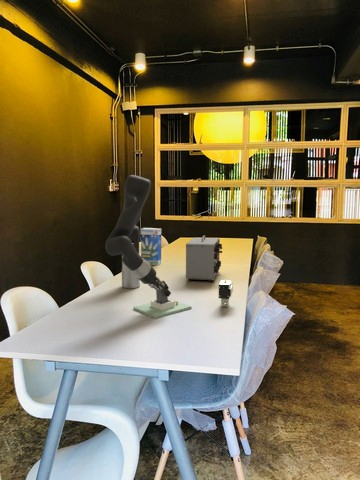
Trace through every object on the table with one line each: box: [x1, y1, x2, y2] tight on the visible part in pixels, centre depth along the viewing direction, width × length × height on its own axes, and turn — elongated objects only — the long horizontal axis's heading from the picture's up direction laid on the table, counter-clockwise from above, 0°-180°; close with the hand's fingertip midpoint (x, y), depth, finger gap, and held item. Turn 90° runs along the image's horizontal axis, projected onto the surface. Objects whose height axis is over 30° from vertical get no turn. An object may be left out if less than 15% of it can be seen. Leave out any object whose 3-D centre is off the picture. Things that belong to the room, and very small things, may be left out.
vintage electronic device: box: [185, 235, 223, 283], centre depth 225 cm, size 32×18×25 cm, turn 168°
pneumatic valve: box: [218, 279, 234, 308], centre depth 166 cm, size 6×12×12 cm, turn 166°
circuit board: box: [133, 298, 193, 319], centre depth 163 cm, size 20×16×4 cm
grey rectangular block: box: [155, 285, 169, 304], centre depth 162 cm, size 4×4×10 cm
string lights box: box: [140, 227, 162, 266], centre depth 266 cm, size 13×8×26 cm, turn 73°
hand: (165, 293), depth 163 cm, fingers open, 4 cm apart
